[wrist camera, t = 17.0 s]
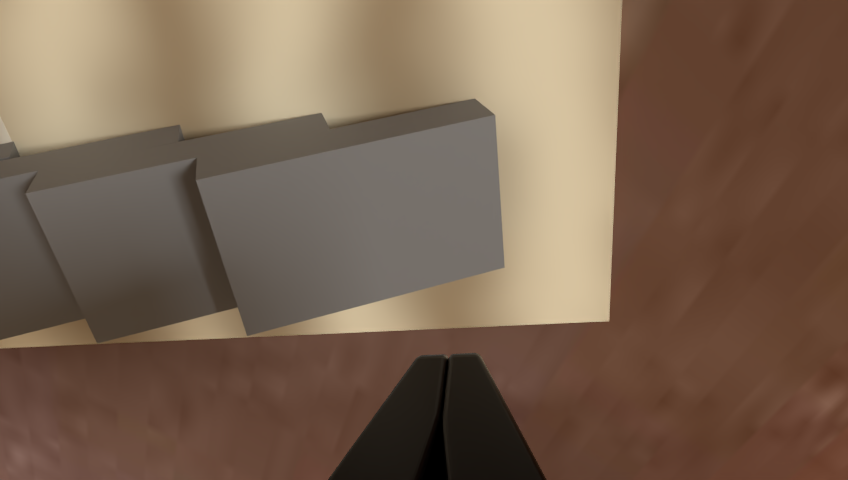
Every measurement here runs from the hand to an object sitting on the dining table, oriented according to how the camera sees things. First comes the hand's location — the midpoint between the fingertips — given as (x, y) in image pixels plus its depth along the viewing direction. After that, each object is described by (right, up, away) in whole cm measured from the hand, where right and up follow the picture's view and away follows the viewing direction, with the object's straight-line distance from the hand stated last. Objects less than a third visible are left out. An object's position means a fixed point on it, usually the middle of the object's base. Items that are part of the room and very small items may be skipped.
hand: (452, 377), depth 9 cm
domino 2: (-3, +3, +11) cm, 12 cm away
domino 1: (+2, +4, +11) cm, 11 cm away
